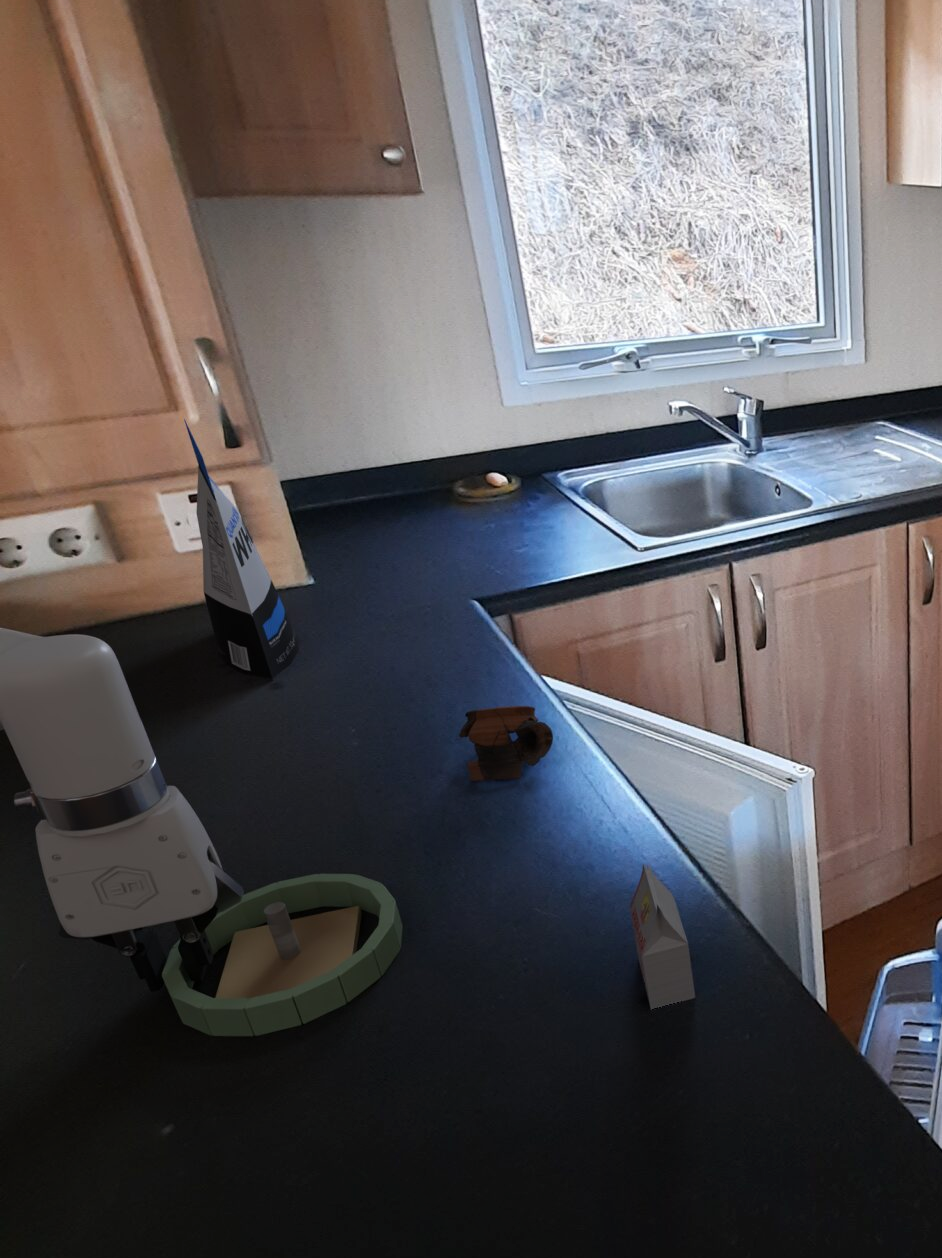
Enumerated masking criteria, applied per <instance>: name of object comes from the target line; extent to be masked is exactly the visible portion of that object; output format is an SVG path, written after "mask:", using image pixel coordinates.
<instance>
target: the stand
mask: <svg viewBox="0 0 942 1258" xmlns="http://www.w3.org/2000/svg"><path fill="white" fill-rule="evenodd" d="M263 912H264V915H265V918H266V920H267V922H266V923H267V924H265V925H259V926H256V927H254V928H251V929H246V930H241V931H237V932H235V933H234V936H233V940H232V941H231V942H230V946H229V950H228V953H227V956H226V960H225V963H224V966H223V969H222V973H221V977H220V981H219V984H218V987H217V990H216V994H215V997H214V998H253V997H258V996H262V995H266V994H271V993H275V992H279V991H283V990H288V989H292V988H294V987H296V986H298V985H301V984H303V983H305V982H307V981H309V980H312V979H314V978H316V977H318V976H320V975H323V974H325V973H327V972H329V971H331V970H333V969H334V968H336V967H337V966H338V965H340V964H341V963H342V962H344V961H345V960H346V959H348V958H349V957H351V956H352V955H353V954H355V953H356V952H357V951H358V945H359V944H358V943H359V936H360V930H361V923H362V915H363V913H362V910H361V909H360V906H354V907H344V908H341V909H336V910H331V911H326V912H322V913H318V914H313V915H308V916H303V917H298V918H294V919H291V918H290V915H289V914H290V913H289V914H288V912H287V909H286V906H285V904H284V903H282V902H277V903H273V904H270V905H268V906H267V907H266V908H265V909H264V911H263Z"/></svg>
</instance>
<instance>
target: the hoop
mask: <svg viewBox="0 0 942 1258" xmlns="http://www.w3.org/2000/svg"><path fill="white" fill-rule="evenodd" d="M277 902H282V903H284V904H285V906H286V909H287V912H288V914H293V913H298V912H303V911H307V910H308V911H309V910H314V909H318V908H322V907H328V908H329V907H331V908H336V907H338V908H340V907H342V908H350V907H354V906H360V909H361V911H365V912H366V913H370V914H373V915H375V916H377V917H378V925H377V927H376V928H375V929H374V930H373V932H372V933H371V934H370V936H369V937H368V939H367V940H366V941H365V943H364V944H363V946H361V948H360V949H358V950H357V951H356V953H355V954H353V955H352V956H351V957H349V958H348V959H346V960H345V961H344V962H342V963H341V964H340V965H338V966H337V967H336V968H334V969H333V970H331V971H329V972H327V973H325V974H323V975H320V976H318V977H316V978H314V979H312V980H309V981H307V982H305V983H303V984H301V985H298V986H296V987H294V988H292V989H288V990H283V991H279V992H275V993H271V994H266V995H262V996H258V997H253V998H215V997H212V996H209V995H207V994H204V993H202V992H199V991H197V990H195V989H193V988H194V985H195V982H194V981H191V979H190V977H189V975H188V972H187V970H186V967H185V965H184V963H183V960H182V958H181V956H180V953H179V951H178V945H179V942H180V940H181V938H179V939H178V940H177V942H175V943H174V945H173V946H171V949H170V951H169V954H168V956H167V961H166V964H165V967H164V969H163V972H162V978H163V980H164V985H165V987H166V989H167V992H168V994H169V996H170V998H171V1001H172V1003H173V1005H174V1008H175V1010H176V1012H177V1014H178V1016H179V1018H180V1021H181V1023H182V1024H183V1025H185V1026H187V1027H190V1028H192V1029H195V1030H196V1031H199V1032H201V1033H203V1034H205V1035H207V1036H211V1037H212V1036H213V1037H254V1036H255V1037H258V1036H263V1035H267V1034H270V1033H274V1032H275V1033H276V1032H278V1031H282V1030H287V1029H291V1028H294V1027H299V1026H302V1024H303V1025H306V1024H307V1023H309V1022H311V1021H314V1020H315V1019H318V1018H321V1017H323V1016H324V1015H327V1014H329V1013H330V1012H333V1011H335V1010H337V1009H339V1008H341V1007H343V1006H345V1005H347V1003H350V1002H351V1001H353V1000H354V999H355V998H356V997H358V996H359V995H361V993H363V992H364V991H366V990H367V989H368V988H369V987H371V986H372V985H374V984H375V983H376V982H377V981H378V980H380V979H381V978H382V977H383V976H384V974H385V973H386V972H387V970H388V968H389V967H390V966H391V964H392V963H393V962H394V960H395V958H396V957H397V956H398V955H399V953H400V951H401V949H402V940H403V939H402V938H403V929H404V927H403V923H402V919H401V915H400V911H399V908H398V905H397V902H396V899H395V897H393V895H392V894H391V893H390V892H389V890H388V889H387V888H386V886H385V885H384V884H383V883H381V882H379V881H377V880H374V879H372V878H371V879H370V878H369V877H368V878H367V877H365V876H362V875H359V874H353V873H314V874H310V875H303V876H299V877H295V878H290V879H284V880H279V881H277V882H273V883H270V884H267V885H265V886H262V887H260V888H257V889H255V890H252V891H250V892H247V893H245V894H244V893H243V896H242V899H241V901H240V902H239V903H238V904H236V905H234V906H232V907H231V908H229V909H227V910H225V911H224V912H220V913H219V914H217V915H216V917H215V918H214V919H213V920H212V922H211V923H210V924H209V925H208V926H207V928H206V929H205V932H206V935H207V937H208V940H209V942H210V945H211V947H212V950H213V957H214V956H215V954H217V952H218V951H219V950H220V949H222V948H224V947H225V946H227V945H228V944H231V943H232V940H233V936H234V933H235V932H237V931H241V930H246V929H251V928H256V927H260V926H262V925H263V924H266V923H267V920H266V918H265V915H264V912H263V911H264V909H265V908H266V907H267V906H268V905H270V904H273V903H277Z"/></svg>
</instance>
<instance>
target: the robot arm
mask: <svg viewBox="0 0 942 1258" xmlns="http://www.w3.org/2000/svg"><path fill="white" fill-rule="evenodd" d="M138 711H139V710H138V709H137V706H136V704H135V701H134V698H133V696H132V693H131V691H130V687H129V686H128V682H127V680H126V677H125V674H124V672H123V670H122V667H121V665H120V662H119V660H118V658H117V656H116V653H115V652H114V650H113V649H112V647H111V646H110V645H109V644H108V643H106V642H105V641H104V640H102V639H100V638H98V637H95V636H91V635H87V634H78V633H77V634H76V633H75V634H74V633H73V634H72V633H71V634H59V635H50V636H41V635H36V634H31V633H26V632H23V631H18V630H13V629H9V628H5V627H0V731H3V730H4V732H5V734H6V736H7V738H8V740H9V743H10V745H11V746H12V749H13V751H14V753H15V756H16V758H17V760H18V762H19V764H20V767H21V769H22V771H23V773H24V775H25V777H26V780H27V783H28V784H29V786H30V788H28V789H26V790H25V791H20V792H16V793H15V794H14V796H13V803H14V806H15V808H16V809H17V810H18V811H23V810H29V809H30V811H31V810H32V811H35V810H36V811H37V812H38V814H39V816H40V819H41V820H40V821H39V822H38V823H37V825H36V826H35V829H34V830H35V839H36V845H37V852H38V857H39V861H40V865H41V869H42V873H43V877H44V880H45V885H46V887H47V890H48V894H49V896H50V899H51V903H52V905H53V907H54V910H55V913H56V915H57V918H58V920H59V922H60V924H59V929H58V935H59V937H61V938H63V939H71V940H83V941H85V940H86V941H89V940H93V941H94V942H96V943H99V944H102V945H105V946H108V947H111V948H114V949H116V950H117V952H118V953H119V954H120V955H121V956H123V957H129V959H130V961H131V962H132V965H133V968H134V970H135V972H136V974H137V976H138V979H140V980H144V979H145V981H146V984H147V986H148V989H149V990H150V992H151V993H153V992H158V991H160V990H161V989H163V988H164V985H165V982H164V980H163V978H162V972H163V969H164V967H165V964H166V961H167V959H168V956H167V955H166V953H165V951H164V948H163V945H162V943H161V941H160V939H159V937H158V934H157V933H154V930H146V927H147V928H148V927H151V926H157V925H161V924H167V923H171V922H174V925H175V926H176V929H177V931H178V933H179V940H180V939H181V940H180V942H179V945H178V951H179V953H180V956H181V958H182V960H183V963H184V965H185V967H186V970H187V972H188V975H189V977H190V979H191V981H194V983H197V982H203V980H204V978H205V974H206V972H207V968H208V965H212V963H213V961H214V956H213V950H212V947H211V945H210V942H209V940H208V937H207V935H206V932H205V929H206V928H207V926H208V925H209V924H210V923H211V922H212V920H213V919H214V918H215V917H216V915H217V914H219V913H220V912H224V911H225V910H227V909H229V908H231V907H232V906H234V905H236V904H238V903H239V902H240V901H241V899H242V896H243V895H244V892H245V889H244V887H243V886H242V885H241V884H239V883H238V882H237V881H236V880H234V878H232V877H231V876H230V875H228V873H226V872H225V870H223V867H222V863H221V860H220V857H219V855H218V853H217V850H216V848H215V846H214V844H213V842H212V840H211V838H210V837H209V835H208V832H207V831H206V828H205V827H204V824H203V823H202V822H201V820H200V818H199V817H198V815H197V813H196V812H195V810H194V808H193V807H192V806H191V805H190V803H189V802H188V800H187V799H186V798H185V796H184V795H183V794H182V793H181V791H180V790H179V788H177V787H176V786H175V785H167V783H166V780H165V778H164V776H163V773H162V770H161V767H160V765H159V762H158V760H157V757H156V755H155V752H154V750H153V747H152V745H151V741H150V739H149V736H148V734H147V732H146V728H145V726H144V724H143V721H142V719H141V717H140V714H139V712H138Z"/></svg>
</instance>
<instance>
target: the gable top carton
mask: <svg viewBox="0 0 942 1258" xmlns="http://www.w3.org/2000/svg"><path fill="white" fill-rule="evenodd" d="M629 909H630V915H631V921H632V929H633V933H634V940H635V946H636V952H637V958H639V959H638V963H639V966H640V967H639V968H640V971H641V974H642V975H641V976H642V980H643V983H645V984H644V988H645V992H646V995H647V1001H648V1004H649V1008H650V1011H653V1010H652V1009H654V1008H657V1007H658V1009H660V1008H659V1007H661V1008H663V1007H662V1006H665V1005H668V1006H670V1005H669V1004H672V1005H674V1004H673V1003H675V1004H678V1003H677V1002H679V1003H682V1002H686V1001H689V1000H693V999H695V998H696V992H695V984H694V977H693V971H692V961H691V954H690V948H689V947H690V946H689V942H688V939H687V936H686V932H685V929H684V926H683V923H682V919H681V916H680V912H679V909H678V906H677V902H676V899H675V896H674V894H673V893H672V891H670V890H669V889H668V888H667V887H666V885H664V883H663V882H662V881H661V880H660V879H659V878H658V877H657V875H656V874H655V873H654V871H653V870H652V869H651V867H650V865H649V862H647V863H646V865H645V864H644V863H642V871H641V873H640V877H639V881H638V884H637V887H636V888H635V892H634V894H633V897H632V900H631V902H630V904H629ZM681 1001H682V1002H681ZM665 1007H666V1006H665ZM654 1010H655V1009H654Z"/></svg>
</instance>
